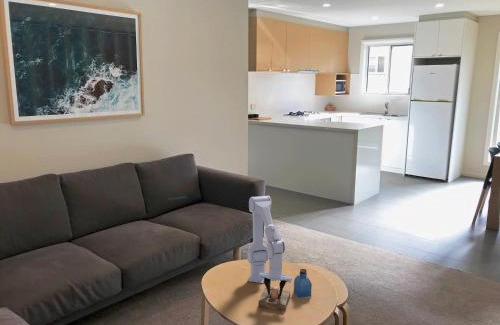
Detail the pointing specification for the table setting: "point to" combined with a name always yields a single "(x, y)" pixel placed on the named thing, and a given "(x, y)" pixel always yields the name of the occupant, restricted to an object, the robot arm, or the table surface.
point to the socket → (274, 300)
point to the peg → (274, 292)
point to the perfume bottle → (302, 284)
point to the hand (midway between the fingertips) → (274, 294)
